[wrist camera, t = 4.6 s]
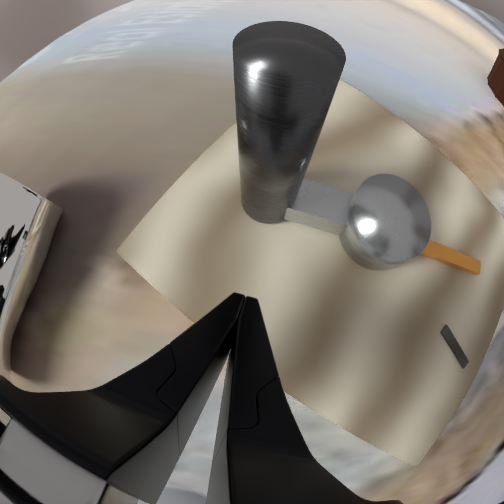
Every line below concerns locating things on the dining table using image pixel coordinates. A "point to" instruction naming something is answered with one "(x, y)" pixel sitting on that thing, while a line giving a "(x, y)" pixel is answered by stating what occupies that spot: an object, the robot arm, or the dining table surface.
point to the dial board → (341, 279)
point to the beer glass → (20, 253)
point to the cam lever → (302, 147)
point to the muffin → (498, 77)
